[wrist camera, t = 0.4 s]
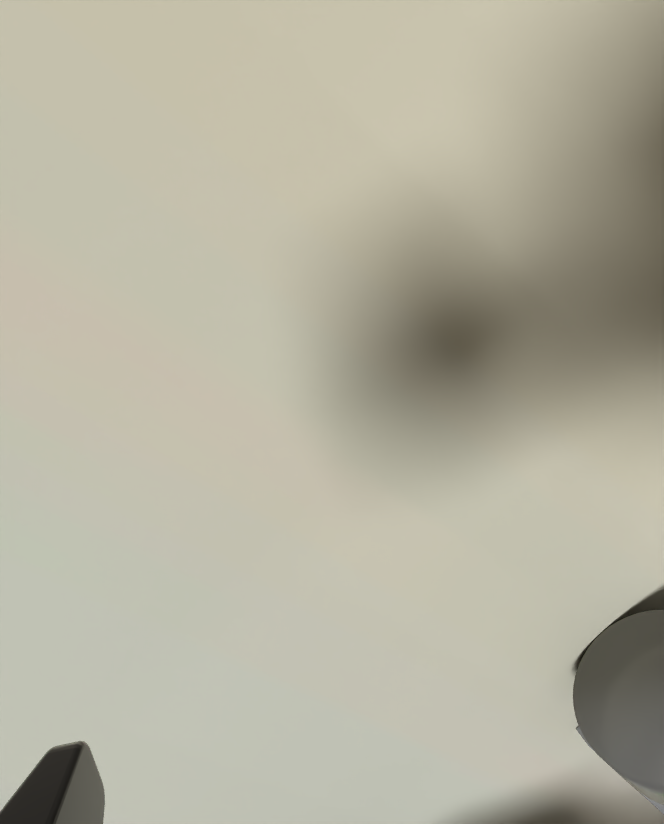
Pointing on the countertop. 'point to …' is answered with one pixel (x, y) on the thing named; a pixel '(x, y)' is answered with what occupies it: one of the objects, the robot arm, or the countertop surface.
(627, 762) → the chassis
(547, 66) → the countertop surface
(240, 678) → the countertop surface
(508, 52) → the countertop surface
